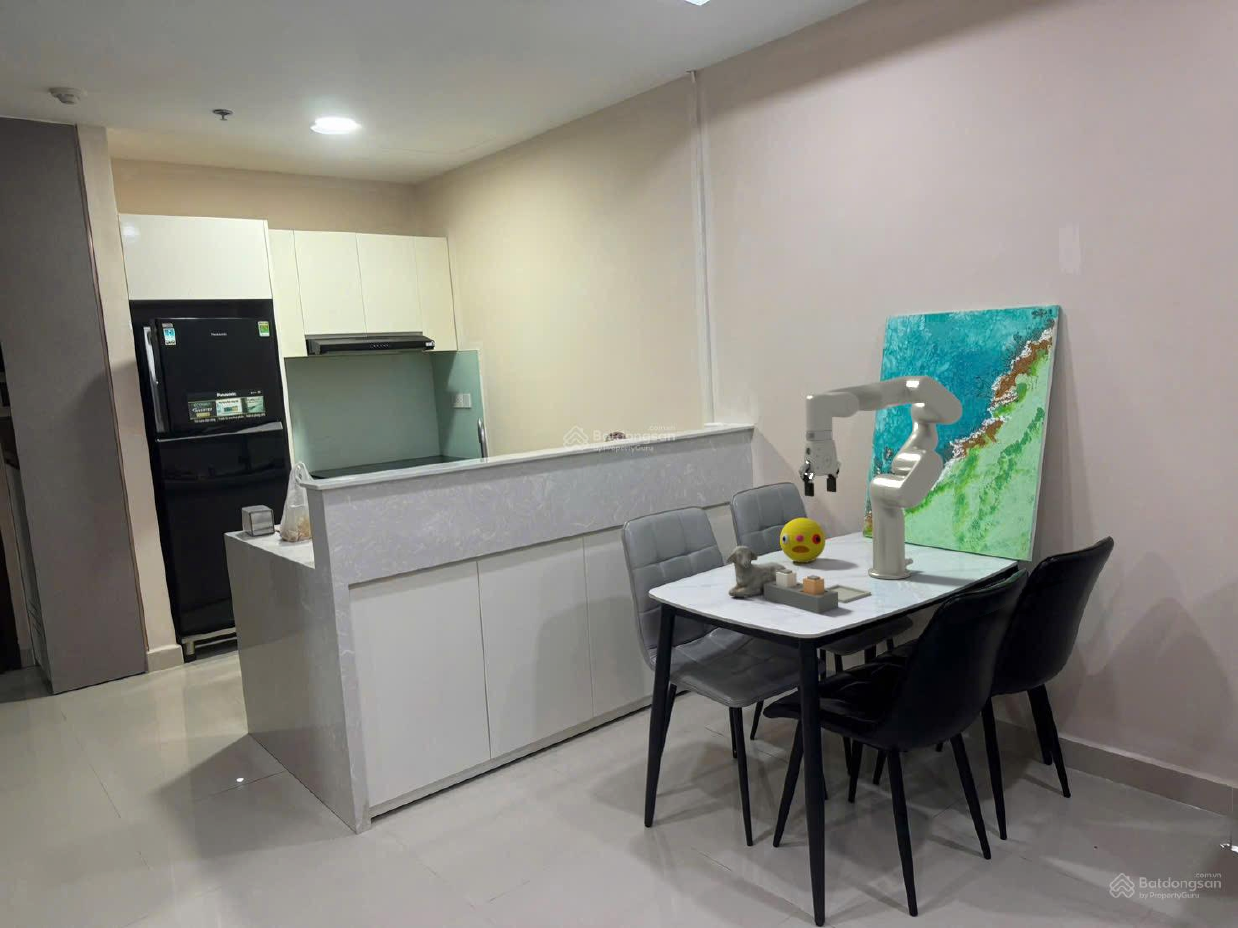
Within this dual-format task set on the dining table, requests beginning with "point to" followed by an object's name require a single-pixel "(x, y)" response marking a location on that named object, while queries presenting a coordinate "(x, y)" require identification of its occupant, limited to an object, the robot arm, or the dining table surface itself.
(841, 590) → the tray
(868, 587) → the dining table surface
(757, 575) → the sculpture
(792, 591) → the pdu
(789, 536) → the toy
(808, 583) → the plug
